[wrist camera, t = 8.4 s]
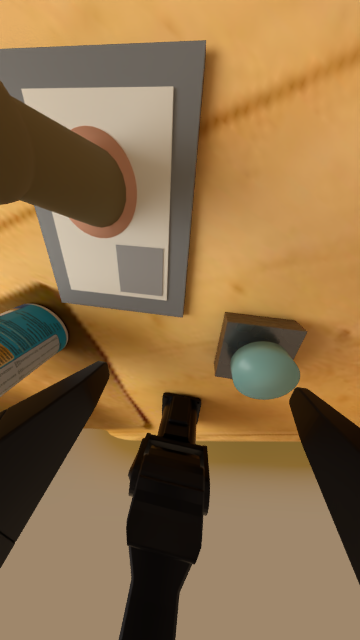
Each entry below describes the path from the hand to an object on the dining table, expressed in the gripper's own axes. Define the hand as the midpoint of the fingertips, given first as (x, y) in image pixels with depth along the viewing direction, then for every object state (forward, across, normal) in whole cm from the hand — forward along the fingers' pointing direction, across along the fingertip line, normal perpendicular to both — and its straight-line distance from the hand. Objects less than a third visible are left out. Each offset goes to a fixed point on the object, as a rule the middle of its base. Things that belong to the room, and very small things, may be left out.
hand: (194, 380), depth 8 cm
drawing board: (+12, +10, -8) cm, 18 cm away
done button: (+9, -7, +6) cm, 13 cm away
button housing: (+13, -7, +6) cm, 15 cm away
